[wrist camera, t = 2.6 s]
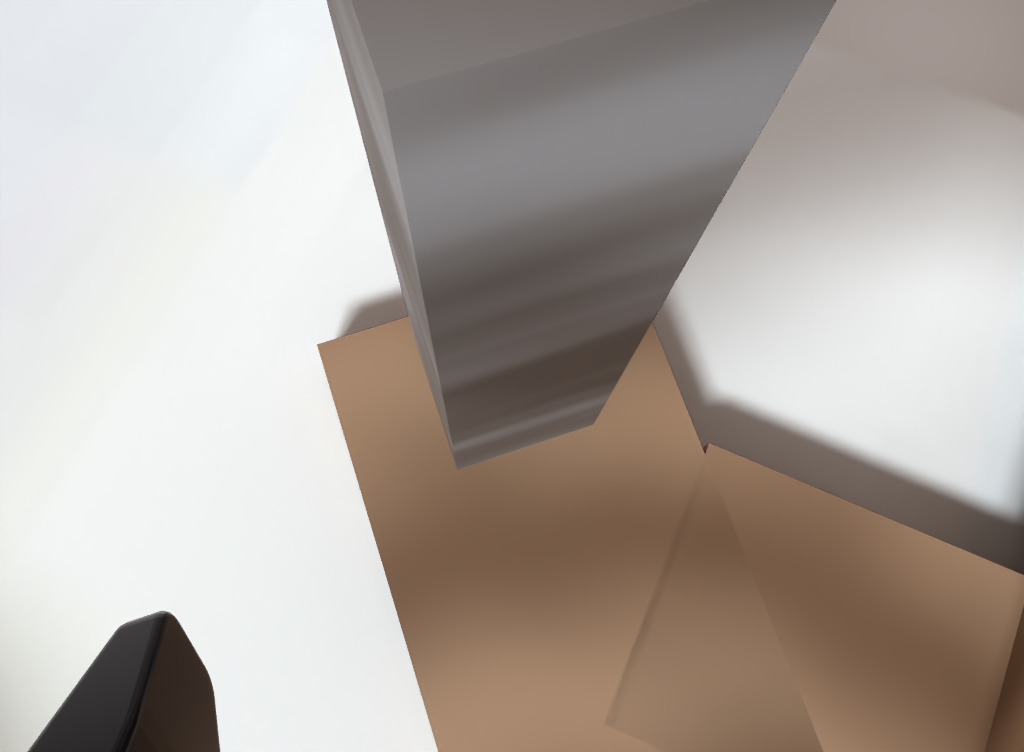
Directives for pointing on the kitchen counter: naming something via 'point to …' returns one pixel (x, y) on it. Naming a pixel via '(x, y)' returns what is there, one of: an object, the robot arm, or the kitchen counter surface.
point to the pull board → (616, 412)
